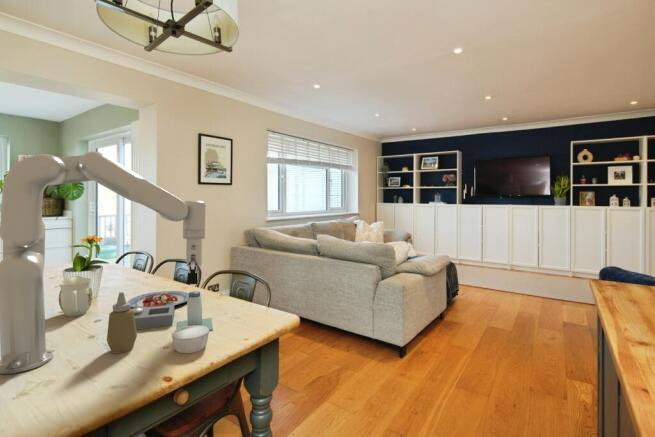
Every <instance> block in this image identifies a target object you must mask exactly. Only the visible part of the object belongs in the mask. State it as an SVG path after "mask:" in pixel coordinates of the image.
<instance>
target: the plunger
mask: <svg viewBox="0 0 655 437" xmlns="http://www.w3.org/2000/svg"><path fill="white" fill-rule="evenodd" d="M131 309H132V310H133V311H134V315H135V314H140V313H141V312H143V308H134V307H133V308H131Z"/></svg>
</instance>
